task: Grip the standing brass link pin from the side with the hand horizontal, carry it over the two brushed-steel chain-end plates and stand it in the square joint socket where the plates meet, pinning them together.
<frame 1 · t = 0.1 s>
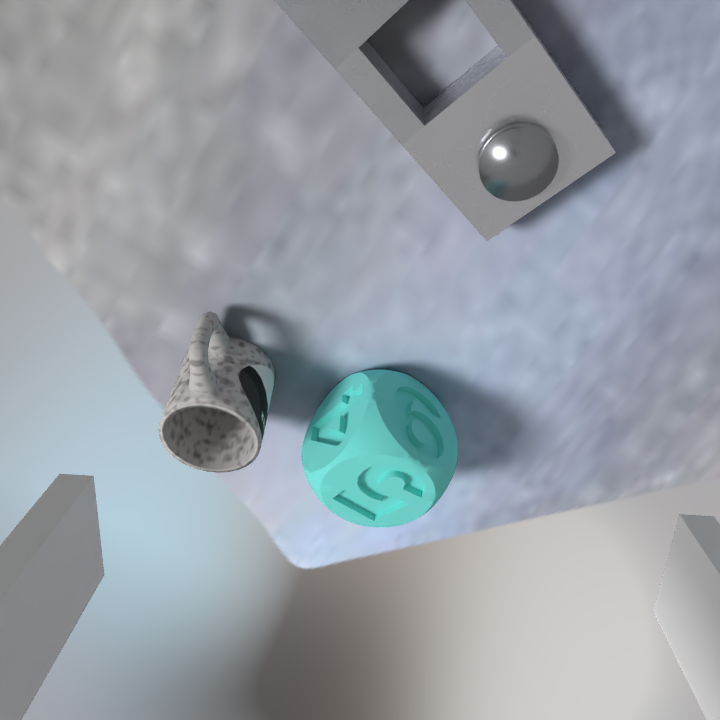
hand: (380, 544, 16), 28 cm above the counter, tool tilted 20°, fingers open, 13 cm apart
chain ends: (431, 37, 35), on the counter
decorative dice: (380, 405, 52), on the counter
mug: (226, 351, 49), on the counter
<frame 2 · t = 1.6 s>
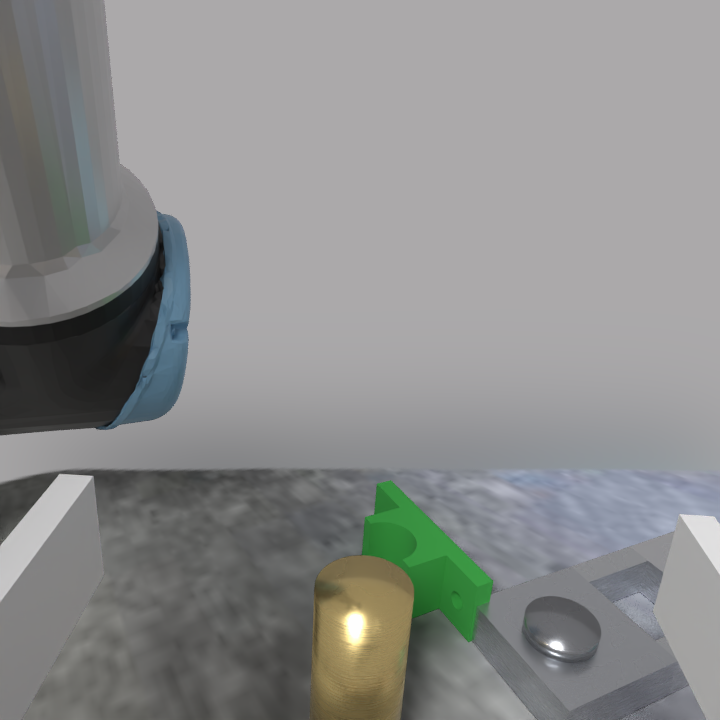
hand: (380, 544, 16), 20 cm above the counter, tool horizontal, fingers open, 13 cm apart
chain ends: (642, 630, 41), on the counter
pipe clamp: (406, 591, 44), on the counter, touching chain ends
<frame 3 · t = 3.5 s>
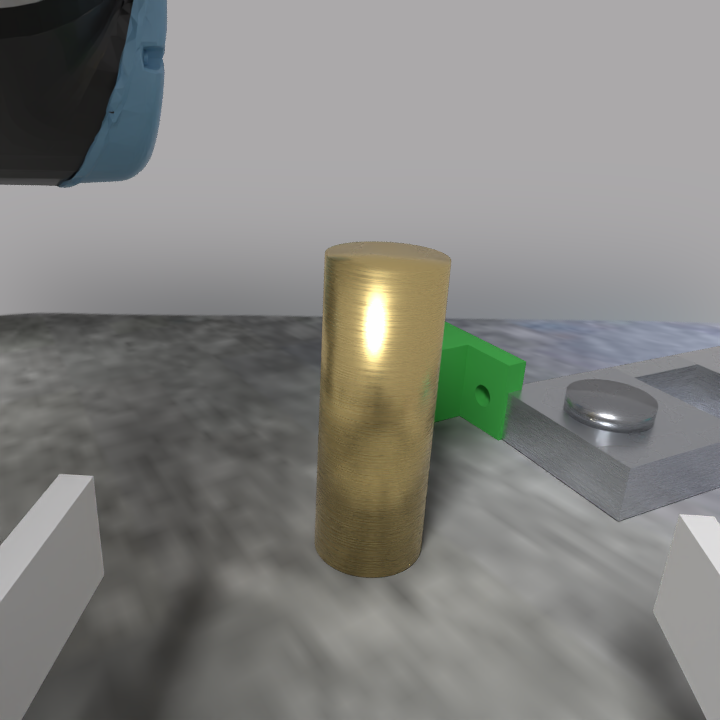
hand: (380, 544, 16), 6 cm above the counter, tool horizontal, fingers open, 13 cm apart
link pin: (367, 542, 26), on the counter
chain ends: (696, 432, 36), on the counter
pipe clamp: (418, 407, 38), on the counter, touching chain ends
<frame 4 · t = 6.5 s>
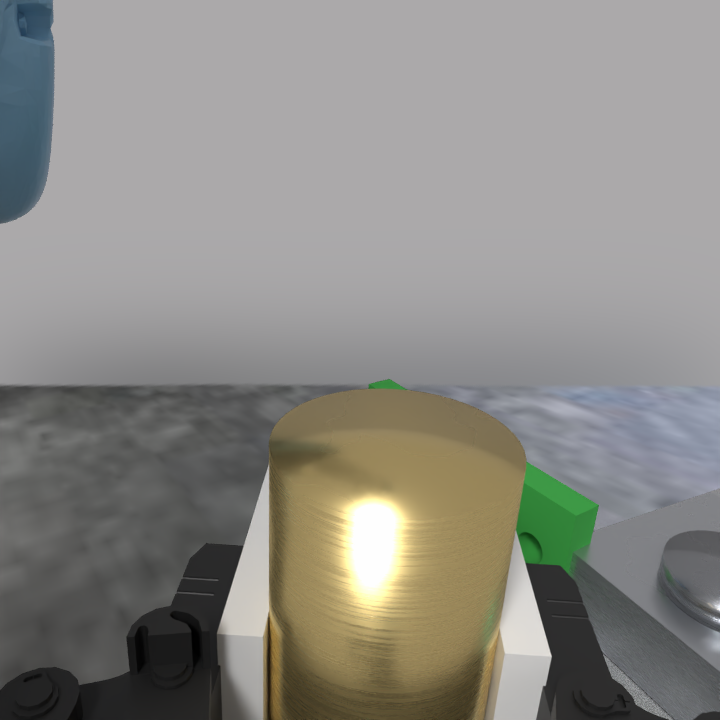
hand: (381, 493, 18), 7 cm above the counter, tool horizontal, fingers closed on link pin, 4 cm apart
pipe clamp: (430, 545, 27), on the counter, touching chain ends
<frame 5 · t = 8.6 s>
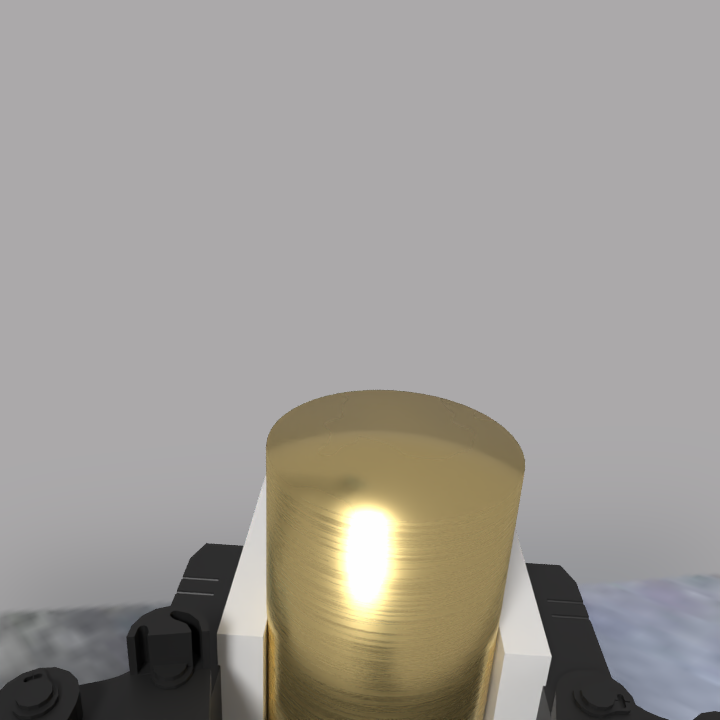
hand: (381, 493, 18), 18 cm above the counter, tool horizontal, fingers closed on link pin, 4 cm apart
when the fingers open (10 cm above the counter, at t = 10.8 s): link pin drops 3 cm, resting in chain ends.
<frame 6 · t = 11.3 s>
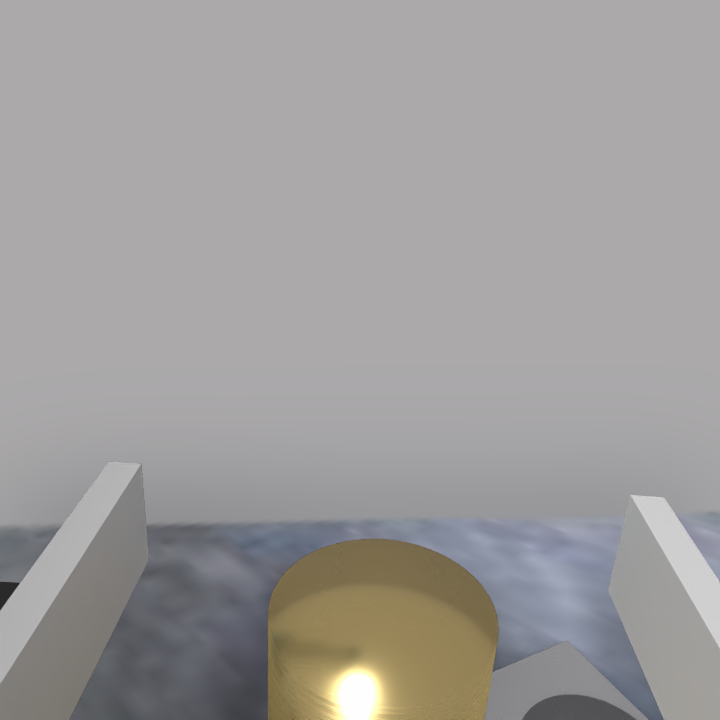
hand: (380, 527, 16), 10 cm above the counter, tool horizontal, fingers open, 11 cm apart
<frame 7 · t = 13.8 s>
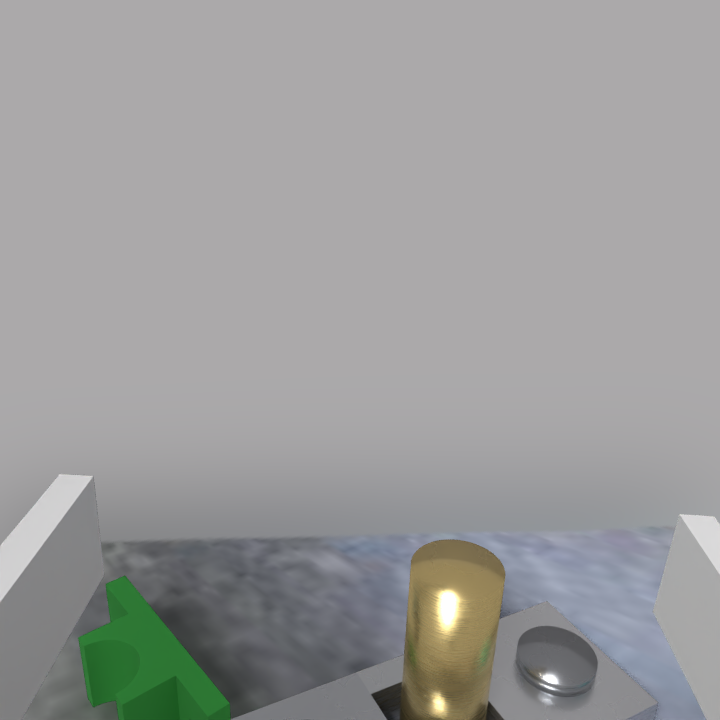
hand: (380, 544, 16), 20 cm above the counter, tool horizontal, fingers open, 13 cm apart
pipe clamp: (146, 717, 36), on the counter, touching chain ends
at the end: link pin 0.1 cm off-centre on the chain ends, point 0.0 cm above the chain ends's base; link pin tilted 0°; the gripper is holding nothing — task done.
